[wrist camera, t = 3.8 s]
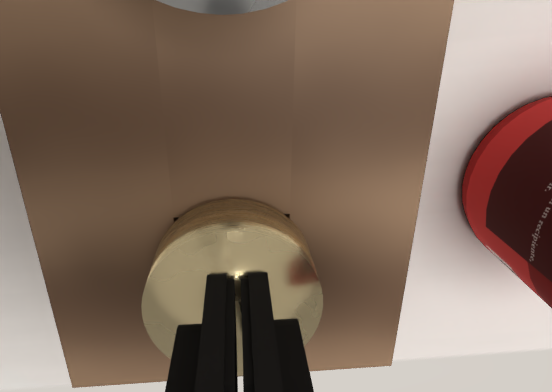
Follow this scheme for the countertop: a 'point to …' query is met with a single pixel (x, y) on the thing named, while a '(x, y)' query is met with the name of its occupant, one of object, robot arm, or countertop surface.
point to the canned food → (515, 194)
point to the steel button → (222, 5)
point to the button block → (219, 153)
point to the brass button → (229, 268)
